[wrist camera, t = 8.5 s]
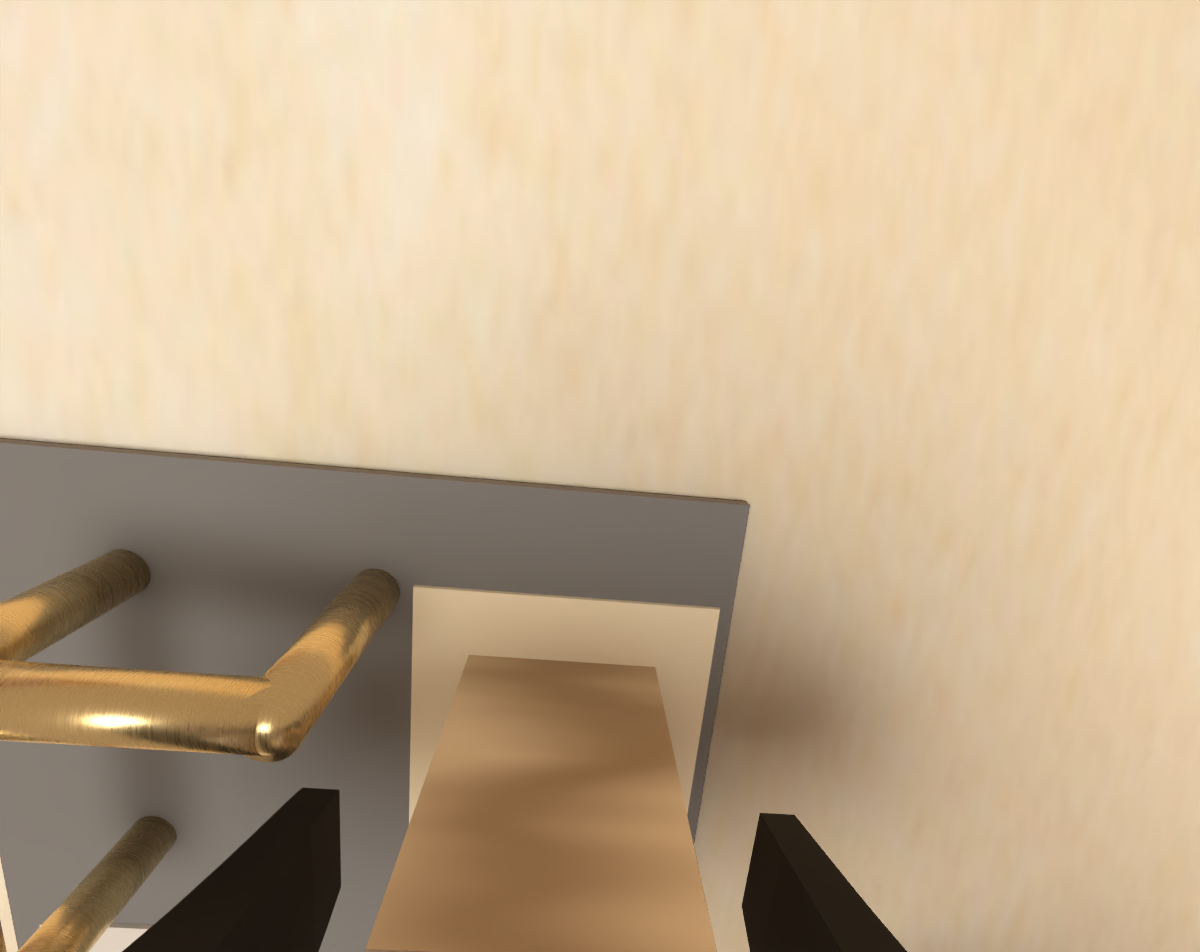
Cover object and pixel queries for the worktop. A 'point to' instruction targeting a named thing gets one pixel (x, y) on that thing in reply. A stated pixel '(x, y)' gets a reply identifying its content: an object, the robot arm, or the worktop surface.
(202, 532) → the mat
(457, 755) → the birch block
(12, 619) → the bent wire
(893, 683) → the worktop surface
